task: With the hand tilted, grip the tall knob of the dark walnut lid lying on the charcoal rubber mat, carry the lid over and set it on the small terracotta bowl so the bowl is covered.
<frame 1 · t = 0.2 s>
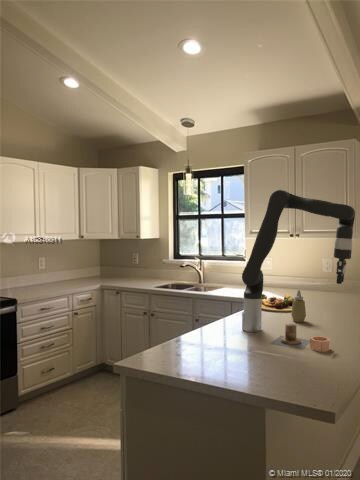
hand: (339, 282, 188), 28 cm above the countertop, tool pointing down, fingers open, 8 cm apart
walnut lid: (290, 341, 189), point 1 cm above the countertop, touching rubber mat
terracotta bowl: (319, 349, 179), on the countertop
squeeze bottle: (298, 321, 231), on the countertop
wooden plate with food: (277, 308, 269), on the countertop
rubber mat: (290, 343, 189), on the countertop
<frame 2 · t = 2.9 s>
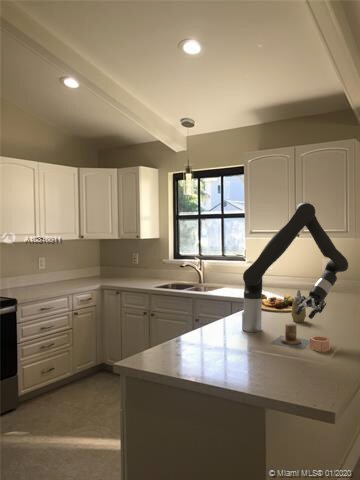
hand: (303, 315, 192), 12 cm above the countertop, tool tilted 45°, fingers open, 8 cm apart
nothing on the countertop moved.
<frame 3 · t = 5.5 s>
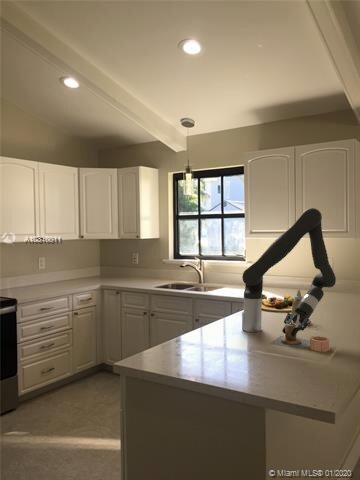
hand: (287, 333, 188), 5 cm above the countertop, tool tilted 45°, fingers closed on walnut lid, 5 cm apart
walnut lid: (290, 341, 189), point 1 cm above the countertop, touching gripper, rubber mat
everything else where it was.
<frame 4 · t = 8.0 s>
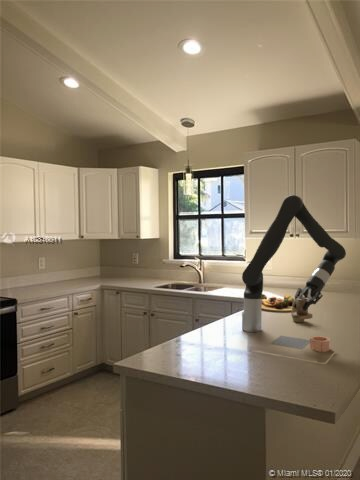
hand: (299, 308, 184), 17 cm above the countertop, tool tilted 45°, fingers closed on walnut lid, 5 cm apart
walnut lid: (302, 316, 185), point 13 cm above the countertop, touching gripper
everything else where it was.
when the fingers open (10 cm above the countertop, at t = 10.7 s): walnut lid drops 1 cm, resting on terracotta bowl.
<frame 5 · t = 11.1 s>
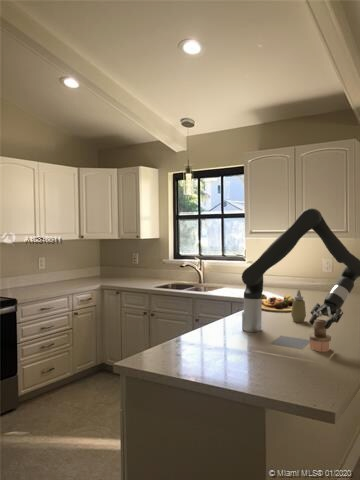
hand: (318, 325, 178), 11 cm above the countertop, tool tilted 45°, fingers open, 8 cm apart
walnut lid: (320, 338, 179), point 5 cm above the countertop, touching terracotta bowl
everything else where it was.
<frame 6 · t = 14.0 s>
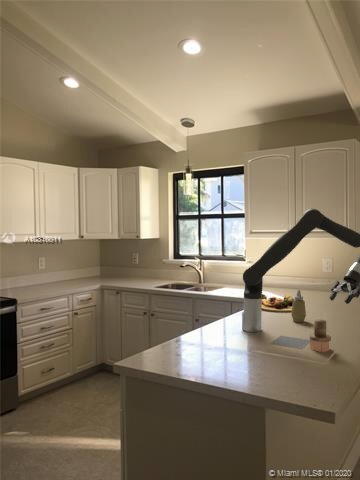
hand: (338, 301, 183), 21 cm above the countertop, tool tilted 45°, fingers open, 8 cm apart
nothing on the countertop moved.
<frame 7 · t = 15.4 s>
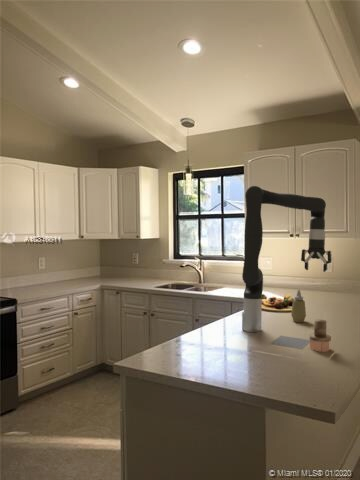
hand: (315, 270, 201), 32 cm above the countertop, tool pointing down, fingers open, 8 cm apart
nothing on the countertop moved.
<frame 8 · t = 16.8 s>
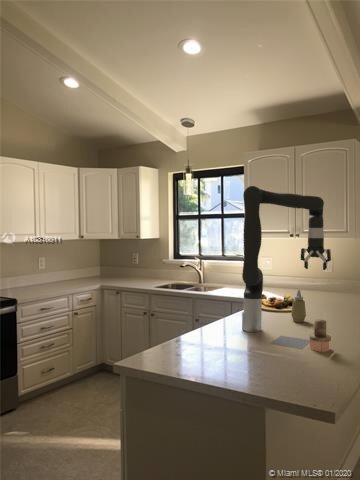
hand: (315, 269, 201), 33 cm above the countertop, tool pointing down, fingers open, 8 cm apart
nothing on the countertop moved.
at the end: walnut lid 0.1 cm off-centre on the terracotta bowl, point 5.0 cm above the terracotta bowl's base; walnut lid tilted 0°; the gripper is holding nothing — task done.
